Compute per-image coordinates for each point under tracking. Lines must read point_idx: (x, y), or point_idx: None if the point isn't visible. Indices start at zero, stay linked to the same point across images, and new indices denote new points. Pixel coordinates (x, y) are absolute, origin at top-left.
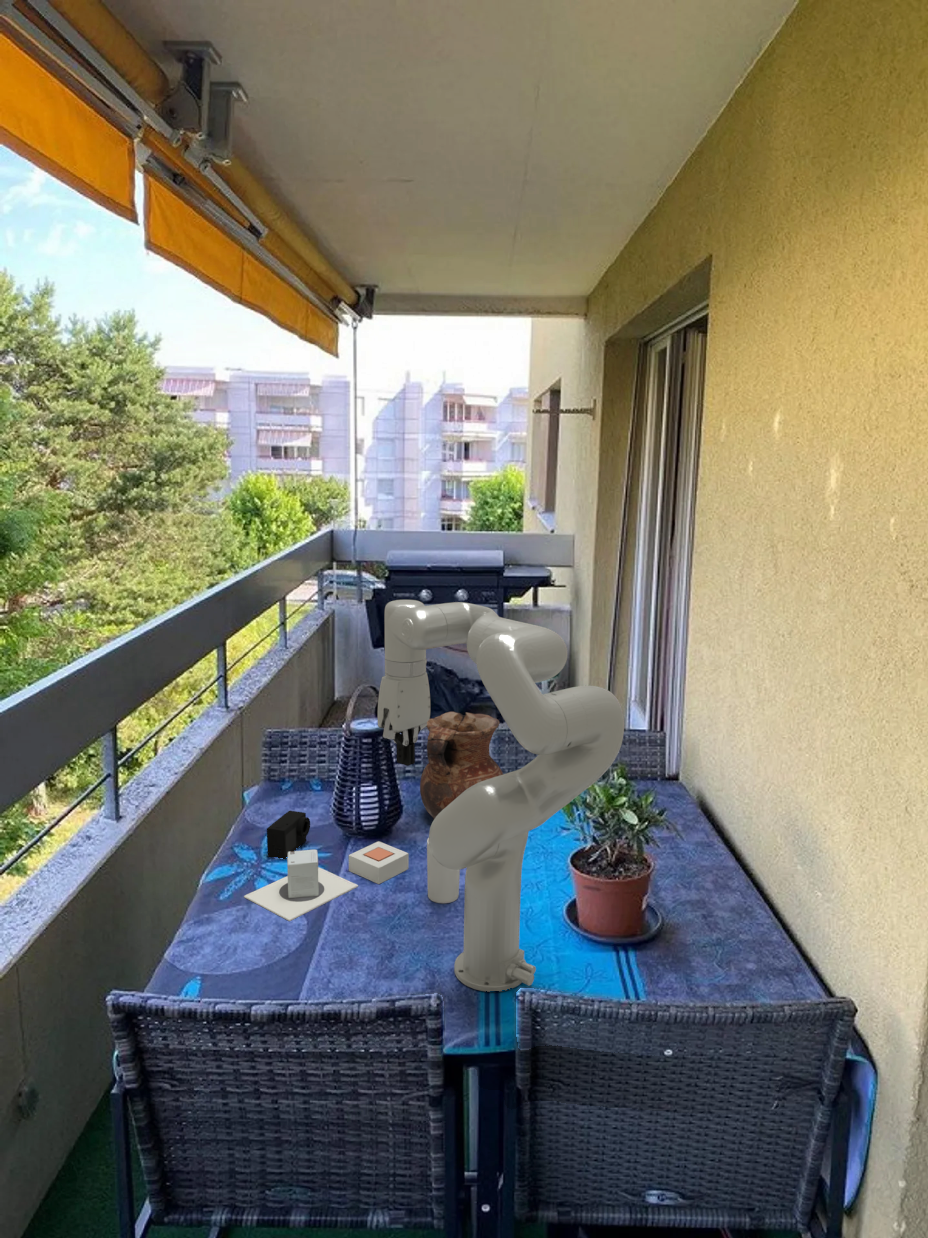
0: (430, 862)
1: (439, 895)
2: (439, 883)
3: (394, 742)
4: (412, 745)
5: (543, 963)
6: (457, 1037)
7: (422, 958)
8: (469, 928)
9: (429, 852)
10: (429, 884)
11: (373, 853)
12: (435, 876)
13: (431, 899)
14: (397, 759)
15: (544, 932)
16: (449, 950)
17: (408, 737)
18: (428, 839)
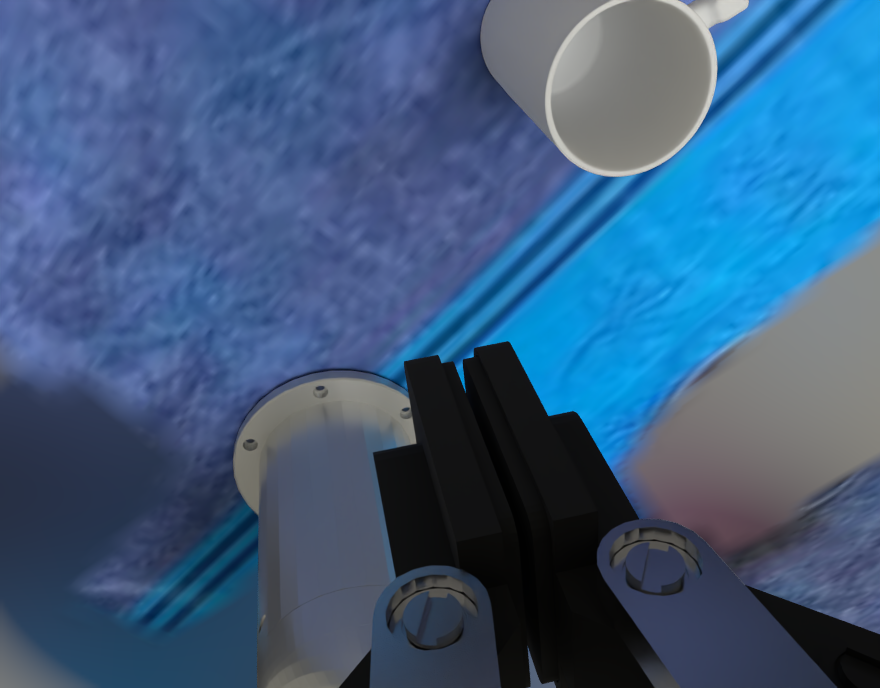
0: (520, 64)
1: (496, 78)
2: (508, 92)
3: (386, 590)
4: (557, 679)
5: None
6: (97, 583)
7: (214, 306)
8: (258, 565)
9: (536, 65)
10: (496, 31)
11: None
12: (507, 82)
13: (481, 34)
14: (411, 387)
15: (587, 398)
16: (312, 319)
17: (618, 684)
18: (591, 18)
